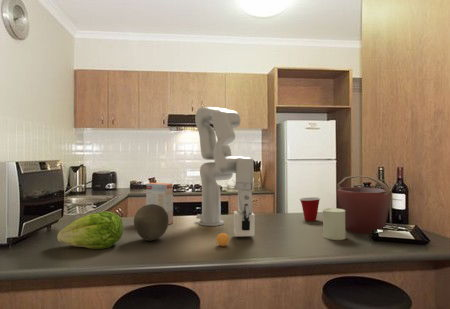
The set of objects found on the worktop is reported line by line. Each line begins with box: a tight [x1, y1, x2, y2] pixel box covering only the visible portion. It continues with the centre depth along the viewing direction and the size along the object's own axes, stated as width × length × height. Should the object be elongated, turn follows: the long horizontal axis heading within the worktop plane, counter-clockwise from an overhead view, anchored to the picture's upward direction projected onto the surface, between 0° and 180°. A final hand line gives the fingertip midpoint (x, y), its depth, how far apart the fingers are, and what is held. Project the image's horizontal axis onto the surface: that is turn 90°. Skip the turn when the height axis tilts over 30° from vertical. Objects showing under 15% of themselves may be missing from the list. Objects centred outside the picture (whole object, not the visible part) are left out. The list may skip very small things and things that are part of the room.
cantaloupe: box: [133, 204, 169, 241], centre depth 127 cm, size 14×14×15 cm
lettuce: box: [56, 210, 124, 250], centre depth 119 cm, size 14×24×15 cm
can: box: [322, 207, 347, 241], centre depth 130 cm, size 9×9×12 cm
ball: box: [216, 232, 230, 247], centre depth 118 cm, size 5×5×5 cm
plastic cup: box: [299, 197, 321, 222], centre depth 164 cm, size 11×11×12 cm
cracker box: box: [145, 182, 174, 226], centre depth 159 cm, size 14×6×21 cm, turn 58°
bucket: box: [336, 175, 392, 235], centre depth 143 cm, size 24×22×25 cm
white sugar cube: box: [233, 210, 256, 237], centre depth 130 cm, size 8×8×9 cm
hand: (244, 227), depth 130 cm, fingers closed on white sugar cube, 7 cm apart
